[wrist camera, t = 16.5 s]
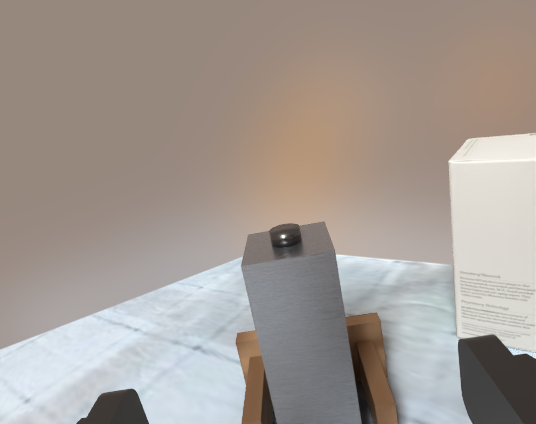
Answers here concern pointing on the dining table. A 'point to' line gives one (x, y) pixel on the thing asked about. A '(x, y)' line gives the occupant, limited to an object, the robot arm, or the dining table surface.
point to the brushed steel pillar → (301, 324)
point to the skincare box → (495, 238)
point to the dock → (364, 366)
